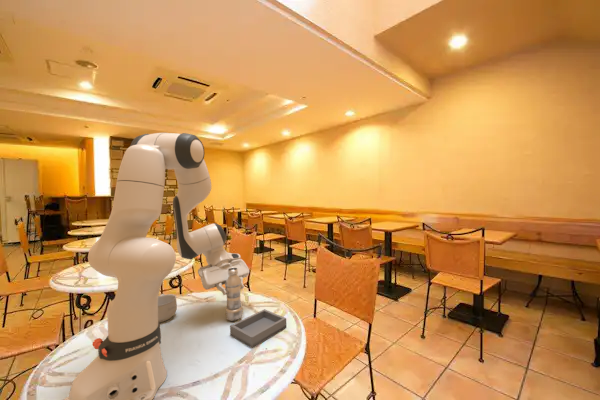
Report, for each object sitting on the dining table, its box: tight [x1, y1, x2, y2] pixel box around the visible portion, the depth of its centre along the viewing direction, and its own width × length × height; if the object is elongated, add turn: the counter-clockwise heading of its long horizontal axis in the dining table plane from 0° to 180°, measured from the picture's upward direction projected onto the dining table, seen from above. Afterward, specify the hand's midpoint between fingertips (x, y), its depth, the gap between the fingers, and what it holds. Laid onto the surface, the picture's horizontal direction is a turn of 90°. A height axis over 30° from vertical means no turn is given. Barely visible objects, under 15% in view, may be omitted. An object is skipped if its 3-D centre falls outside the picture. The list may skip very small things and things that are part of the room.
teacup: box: [158, 293, 178, 323], centre depth 104 cm, size 14×11×8 cm
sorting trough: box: [229, 309, 287, 349], centre depth 92 cm, size 16×12×4 cm
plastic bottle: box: [224, 268, 243, 322], centre depth 101 cm, size 6×7×20 cm
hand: (234, 290), depth 101 cm, fingers closed on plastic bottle, 6 cm apart
